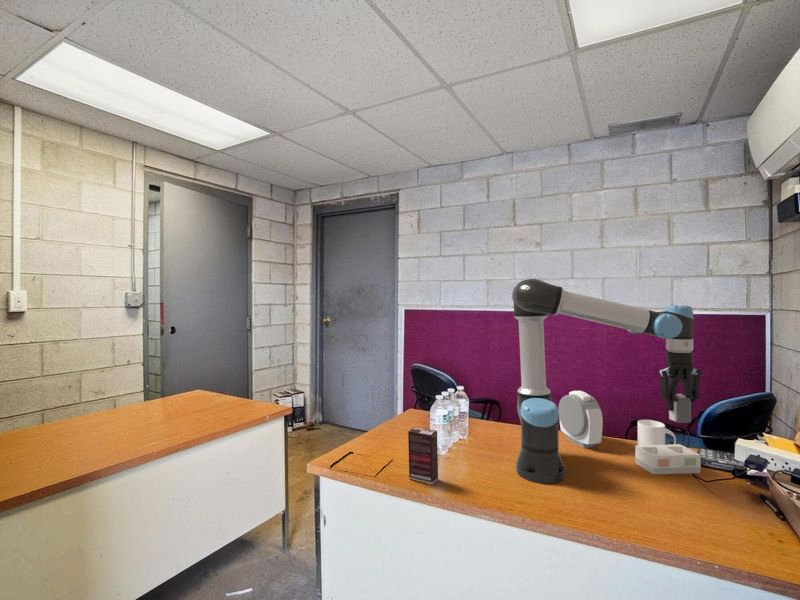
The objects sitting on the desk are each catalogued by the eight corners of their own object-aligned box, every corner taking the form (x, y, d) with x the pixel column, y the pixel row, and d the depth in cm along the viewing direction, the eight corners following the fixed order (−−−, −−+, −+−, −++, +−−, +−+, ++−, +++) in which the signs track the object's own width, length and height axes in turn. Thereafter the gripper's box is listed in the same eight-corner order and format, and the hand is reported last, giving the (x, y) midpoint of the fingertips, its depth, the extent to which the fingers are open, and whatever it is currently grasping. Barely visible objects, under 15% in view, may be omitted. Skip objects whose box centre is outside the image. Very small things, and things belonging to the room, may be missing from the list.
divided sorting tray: (653, 474, 128) (653, 456, 127) (635, 462, 137) (635, 445, 137) (701, 473, 128) (701, 455, 128) (680, 461, 137) (679, 444, 137)
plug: (670, 419, 134) (669, 393, 134) (681, 418, 134) (681, 393, 134) (679, 422, 130) (678, 396, 130) (690, 422, 130) (690, 396, 130)
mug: (678, 459, 139) (678, 429, 139) (639, 454, 144) (639, 425, 143) (673, 450, 147) (673, 422, 146) (636, 446, 151) (636, 418, 151)
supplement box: (438, 479, 127) (438, 430, 127) (432, 485, 123) (432, 435, 122) (414, 473, 131) (414, 426, 131) (408, 479, 127) (407, 430, 127)
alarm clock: (605, 449, 148) (605, 396, 148) (586, 452, 146) (586, 398, 146) (573, 433, 166) (573, 385, 165) (556, 435, 164) (555, 387, 163)
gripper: (662, 353, 128) (663, 424, 128) (713, 352, 129) (713, 422, 129) (647, 350, 136) (647, 417, 136) (695, 348, 136) (695, 415, 137)
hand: (679, 419), depth 133 cm, fingers closed on plug, 4 cm apart
